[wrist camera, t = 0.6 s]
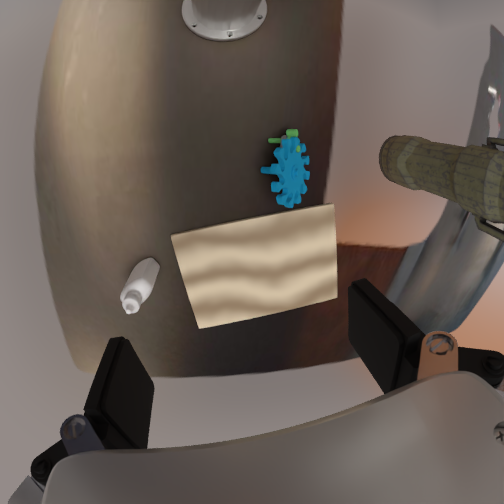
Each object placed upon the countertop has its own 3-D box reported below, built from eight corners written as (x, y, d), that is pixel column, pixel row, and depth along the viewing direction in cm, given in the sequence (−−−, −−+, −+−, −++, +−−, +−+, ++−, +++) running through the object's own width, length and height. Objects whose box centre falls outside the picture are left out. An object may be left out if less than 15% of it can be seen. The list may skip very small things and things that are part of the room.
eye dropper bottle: (126, 261, 43) (104, 300, 32) (157, 255, 43) (142, 294, 32) (133, 284, 44) (115, 327, 33) (164, 279, 45) (153, 322, 34)
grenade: (377, 192, 44) (554, 289, 12) (377, 125, 40) (578, 157, 8) (414, 191, 45) (573, 271, 13) (415, 129, 40) (591, 167, 9)
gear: (309, 208, 42) (276, 209, 34) (276, 203, 45) (238, 203, 37) (316, 137, 39) (284, 121, 31) (283, 137, 42) (245, 123, 34)
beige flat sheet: (171, 234, 42) (170, 236, 41) (332, 202, 44) (333, 203, 43) (199, 326, 49) (199, 328, 49) (335, 295, 51) (337, 297, 50)
